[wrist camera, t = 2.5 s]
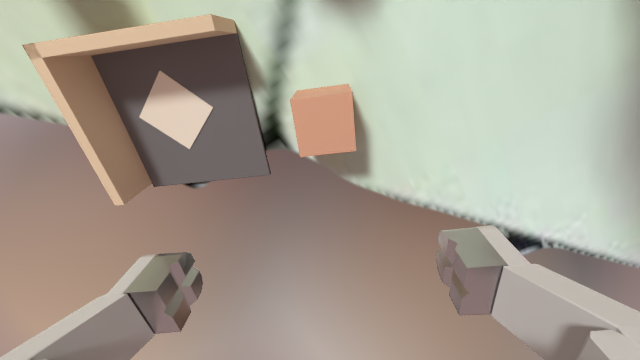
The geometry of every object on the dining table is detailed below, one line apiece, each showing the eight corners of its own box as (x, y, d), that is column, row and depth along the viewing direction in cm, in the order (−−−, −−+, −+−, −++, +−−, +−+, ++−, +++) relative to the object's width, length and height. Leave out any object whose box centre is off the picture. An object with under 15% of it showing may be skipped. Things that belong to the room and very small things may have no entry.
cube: (348, 83, 25) (352, 91, 20) (352, 133, 27) (356, 150, 23) (297, 90, 25) (290, 99, 21) (305, 139, 28) (300, 156, 23)
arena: (233, 20, 23) (210, 14, 18) (270, 173, 30) (260, 195, 25) (78, 45, 24) (22, 45, 20) (148, 185, 31) (117, 209, 26)
